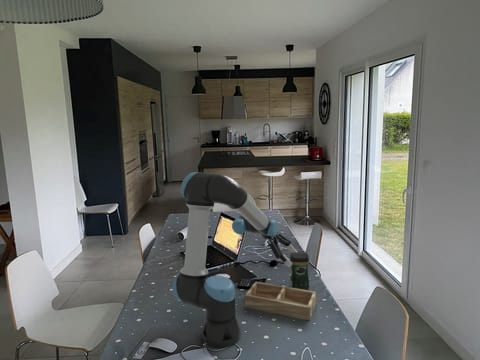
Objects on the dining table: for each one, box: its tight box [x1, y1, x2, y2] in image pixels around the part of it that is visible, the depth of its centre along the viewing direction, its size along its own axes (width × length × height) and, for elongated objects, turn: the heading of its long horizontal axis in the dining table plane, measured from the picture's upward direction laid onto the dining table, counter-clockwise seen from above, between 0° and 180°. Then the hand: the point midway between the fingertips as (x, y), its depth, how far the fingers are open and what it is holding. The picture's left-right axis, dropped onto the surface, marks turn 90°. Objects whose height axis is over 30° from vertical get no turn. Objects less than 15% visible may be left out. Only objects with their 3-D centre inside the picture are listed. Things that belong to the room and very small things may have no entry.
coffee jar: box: [289, 251, 310, 290], centre depth 179 cm, size 10×8×19 cm
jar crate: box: [244, 281, 317, 321], centre depth 164 cm, size 14×30×6 cm, turn 68°
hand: (293, 260), depth 181 cm, fingers open, 13 cm apart
